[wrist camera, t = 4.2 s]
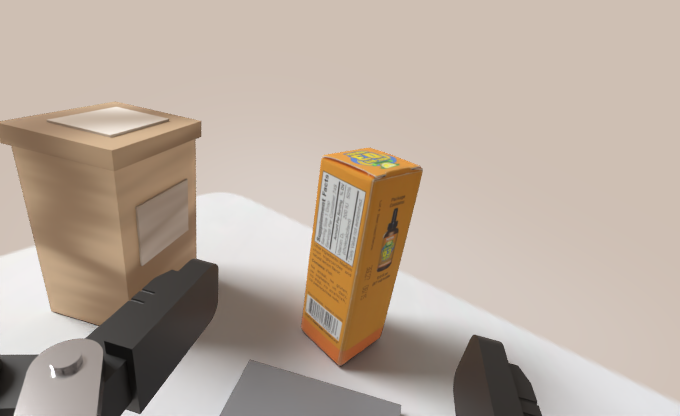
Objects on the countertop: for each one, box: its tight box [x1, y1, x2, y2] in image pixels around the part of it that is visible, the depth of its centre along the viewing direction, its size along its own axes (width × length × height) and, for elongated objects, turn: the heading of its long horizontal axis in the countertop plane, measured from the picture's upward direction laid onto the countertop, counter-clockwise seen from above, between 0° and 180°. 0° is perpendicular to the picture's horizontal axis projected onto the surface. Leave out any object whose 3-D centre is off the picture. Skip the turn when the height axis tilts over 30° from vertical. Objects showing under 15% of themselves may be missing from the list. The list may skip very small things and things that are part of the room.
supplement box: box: [301, 148, 423, 366], centre depth 17 cm, size 3×3×10 cm
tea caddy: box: [0, 102, 201, 326], centre depth 17 cm, size 5×6×9 cm
